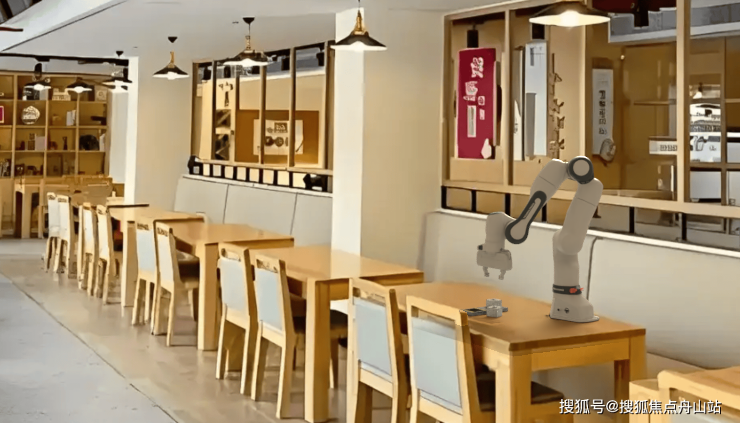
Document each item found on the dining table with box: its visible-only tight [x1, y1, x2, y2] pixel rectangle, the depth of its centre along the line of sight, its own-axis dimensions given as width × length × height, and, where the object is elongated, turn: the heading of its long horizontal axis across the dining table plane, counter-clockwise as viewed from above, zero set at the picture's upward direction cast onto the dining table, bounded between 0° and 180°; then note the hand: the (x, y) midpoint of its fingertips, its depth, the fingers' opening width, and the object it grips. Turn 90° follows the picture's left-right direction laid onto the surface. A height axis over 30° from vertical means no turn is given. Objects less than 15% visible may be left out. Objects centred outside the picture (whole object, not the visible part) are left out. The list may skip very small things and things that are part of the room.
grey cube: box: [485, 298, 503, 308], centre depth 394 cm, size 5×5×5 cm
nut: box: [486, 306, 503, 318], centre depth 383 cm, size 5×5×5 cm
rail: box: [460, 305, 509, 317], centre depth 391 cm, size 8×22×3 cm, turn 125°
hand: (493, 278), depth 394 cm, fingers open, 8 cm apart
